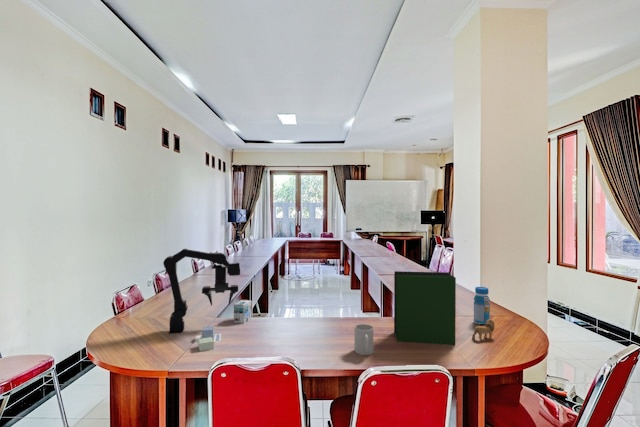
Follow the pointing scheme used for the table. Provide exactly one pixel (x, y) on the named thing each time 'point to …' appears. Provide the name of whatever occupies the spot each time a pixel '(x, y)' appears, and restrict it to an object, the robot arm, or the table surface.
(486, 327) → the lion figurine
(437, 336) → the binder
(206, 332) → the slate-blue cube
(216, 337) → the letter
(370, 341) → the mug
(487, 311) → the beverage bottle
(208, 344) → the sage block
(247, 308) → the light bulb box
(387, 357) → the table surface
